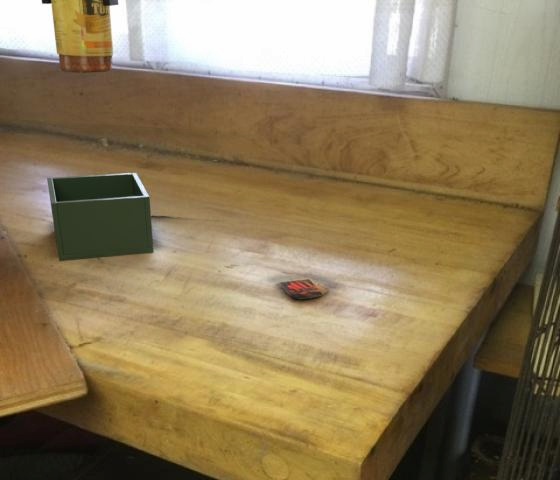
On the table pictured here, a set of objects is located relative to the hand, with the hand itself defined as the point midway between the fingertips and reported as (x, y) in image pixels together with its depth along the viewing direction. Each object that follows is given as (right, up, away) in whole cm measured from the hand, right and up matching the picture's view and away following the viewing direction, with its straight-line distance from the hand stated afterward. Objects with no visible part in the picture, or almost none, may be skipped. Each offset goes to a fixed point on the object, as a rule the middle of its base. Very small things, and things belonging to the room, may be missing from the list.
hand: (80, 3), depth 77 cm
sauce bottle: (0, -6, +4) cm, 7 cm away
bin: (0, -25, +8) cm, 26 cm away
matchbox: (+25, -32, -4) cm, 41 cm away
